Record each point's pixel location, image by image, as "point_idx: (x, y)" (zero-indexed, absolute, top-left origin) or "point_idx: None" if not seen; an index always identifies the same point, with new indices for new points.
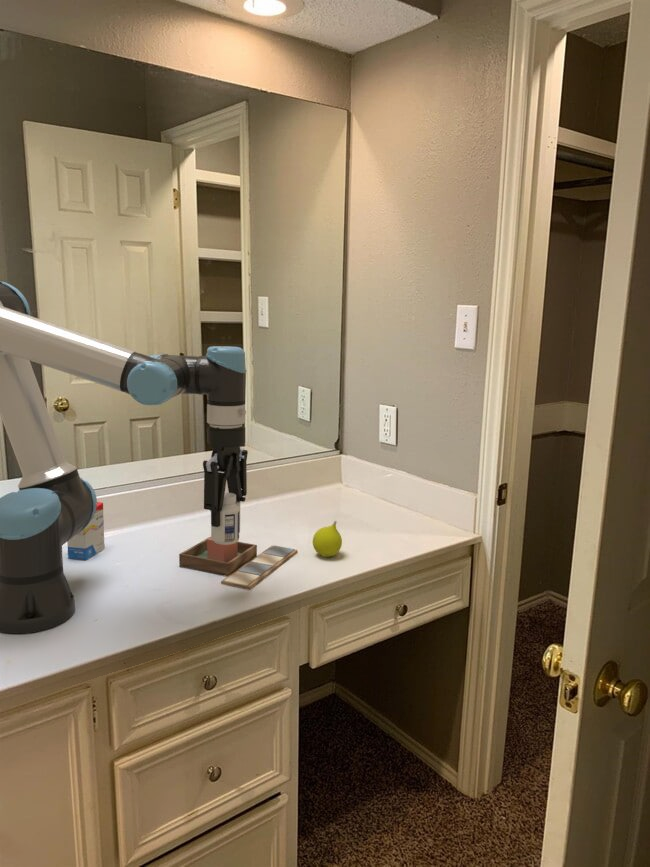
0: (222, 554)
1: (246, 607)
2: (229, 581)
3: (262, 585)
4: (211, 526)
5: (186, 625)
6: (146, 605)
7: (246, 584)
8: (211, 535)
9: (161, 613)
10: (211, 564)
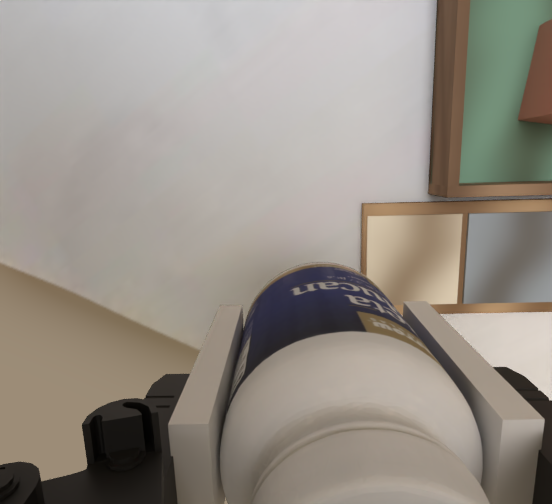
0: (542, 107)
1: None
2: (367, 237)
3: None
4: (204, 343)
5: (66, 274)
6: (100, 76)
7: None
8: (214, 319)
9: (83, 160)
10: (445, 113)
